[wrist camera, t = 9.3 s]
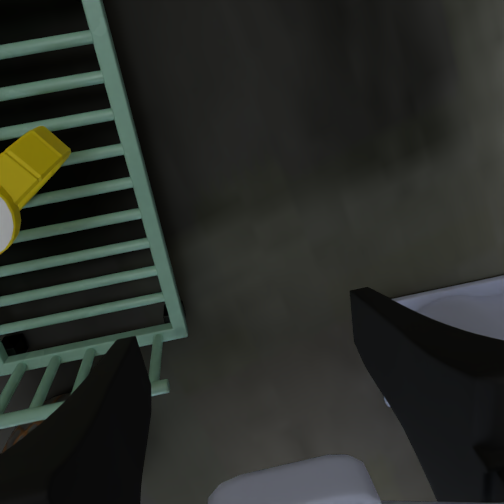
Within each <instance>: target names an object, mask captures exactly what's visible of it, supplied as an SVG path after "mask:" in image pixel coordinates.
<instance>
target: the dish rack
mask: <svg viewBox="0 0 504 504" xmlns="http://www.w3.org/2000/svg"><path fill="white" fill-rule="evenodd" d="M76 1H78V2H80V3H82V4H83V8H84V12H85V15H86V19H87V23H88V26H89V30H85V31H80V32H74V33H68V34H62V35H56V36H50V37H44V38H39V39H33V40H27V41H21V42H15V43H9V44H3V45H0V60H1V59H7V58H13V57H18V56H24V55H30V54H36V53H42V52H47V51H53V50H59V49H65V48H70V47H76V46H82V45H88V44H94V48H95V51H96V55H97V59H98V62H99V66H100V70H99V71H93V72H87V73H82V74H76V75H70V76H65V77H59V78H53V79H48V80H42V81H36V82H31V83H25V84H19V85H14V86H8V87H2V88H0V101H6V100H11V99H17V98H23V97H28V96H34V95H40V94H45V93H51V92H57V91H62V90H68V89H73V88H79V87H85V86H90V85H96V84H102V83H104V84H105V88H106V91H107V95H108V98H109V102H110V106H111V108H108V109H102V110H97V111H91V112H86V113H80V114H75V115H69V116H64V117H58V118H53V119H47V120H42V121H36V122H31V123H25V124H20V125H14V126H9V127H3V128H0V141H2V140H8V139H13V138H19V137H22V136H23V135H24V134H25V133H27V132H28V131H30V130H32V129H34V128H36V127H38V126H44V127H46V128H47V129H48V130H49V131H50V132H52V131H57V130H63V129H68V128H73V127H79V126H84V125H90V124H95V123H101V122H106V121H112V120H115V124H116V127H117V131H118V135H119V138H120V142H121V143H120V144H115V145H109V146H104V147H98V148H93V149H88V150H82V151H77V152H72V153H71V154H70V155H69V157H68V158H67V160H66V161H65V162H64V163H63V164H62V165H61V167H62V166H67V165H72V164H78V163H83V162H88V161H94V160H99V159H104V158H110V157H115V156H120V155H124V156H125V160H126V163H127V167H128V171H129V174H130V177H126V178H120V179H115V180H110V181H104V182H99V183H94V184H89V185H83V186H78V187H73V188H68V189H62V190H57V191H52V192H46V193H41V194H36V195H34V196H33V197H32V198H31V199H30V200H29V202H28V203H27V204H26V205H25V206H24V207H23V208H22V209H24V208H29V207H34V206H39V205H44V204H50V203H55V202H60V201H65V200H71V199H76V198H81V197H86V196H92V195H97V194H102V193H107V192H113V191H118V190H123V189H128V188H133V189H134V192H135V196H136V200H137V203H138V207H139V208H136V209H131V210H126V211H120V212H115V213H110V214H105V215H100V216H95V217H89V218H84V219H79V220H74V221H69V222H64V223H58V224H53V225H48V226H43V227H38V228H33V229H28V230H22V231H19V234H18V236H17V237H16V239H15V240H14V242H13V243H18V242H23V241H29V240H34V239H39V238H44V237H49V236H54V235H59V234H64V233H70V232H75V231H80V230H85V229H90V228H95V227H100V226H106V225H111V224H116V223H121V222H126V221H131V220H136V219H141V218H142V221H143V225H144V229H145V232H146V236H147V238H142V239H137V240H132V241H127V242H122V243H117V244H111V245H106V246H101V247H96V248H91V249H86V250H81V251H76V252H71V253H66V254H61V255H56V256H51V257H46V258H41V259H36V260H30V261H25V262H20V263H15V264H10V265H5V266H0V277H5V276H10V275H15V274H20V273H25V272H30V271H35V270H40V269H45V268H50V267H55V266H60V265H65V264H70V263H75V262H80V261H85V260H90V259H95V258H100V257H105V256H110V255H115V254H120V253H125V252H130V251H135V250H140V249H145V248H150V250H151V254H152V257H153V261H154V266H149V267H144V268H139V269H134V270H129V271H124V272H119V273H114V274H109V275H104V276H99V277H94V278H90V279H85V280H80V281H75V282H70V283H65V284H60V285H55V286H50V287H45V288H40V289H35V290H30V291H25V292H20V293H15V294H10V295H5V296H0V307H3V306H8V305H13V304H18V303H23V302H28V301H33V300H37V299H42V298H47V297H52V296H57V295H62V294H67V293H72V292H77V291H82V290H87V289H92V288H97V287H102V286H107V285H112V284H117V283H121V282H126V281H131V280H136V279H141V278H146V277H151V276H156V275H157V276H158V279H159V283H160V286H161V290H162V292H159V293H154V294H149V295H144V296H139V297H134V298H129V299H124V300H119V301H115V302H110V303H105V304H100V305H95V306H90V307H85V308H80V309H75V310H71V311H66V312H61V313H56V314H51V315H46V316H41V317H36V318H31V319H27V320H22V321H17V322H12V323H7V324H2V325H0V335H4V334H9V333H13V332H18V331H23V330H28V329H33V328H38V327H43V326H47V325H52V324H57V323H62V322H67V321H72V320H77V319H81V318H86V317H91V316H96V315H101V314H106V313H111V312H115V311H120V310H125V309H130V308H135V307H140V306H145V305H150V304H154V303H159V302H164V301H165V305H164V316H163V318H164V321H165V324H162V325H157V326H152V327H147V328H142V329H138V330H133V331H128V332H123V333H118V334H114V335H109V336H104V337H99V338H94V339H90V340H85V341H80V342H75V343H70V344H66V345H61V346H56V347H51V348H46V349H42V350H37V351H32V352H27V350H28V345H27V343H26V341H25V339H24V336H23V334H17V335H12V336H7V337H4V338H3V340H2V341H1V340H0V376H4V375H8V374H12V375H11V377H10V378H9V380H8V382H7V384H6V386H5V387H4V389H3V391H2V393H1V395H0V429H4V428H9V427H13V426H18V425H22V424H27V423H32V422H36V421H41V420H45V419H47V418H48V417H49V416H50V415H51V414H52V413H53V412H54V411H55V410H56V409H57V408H58V407H59V406H60V405H61V404H62V403H63V402H64V401H61V402H56V403H52V404H47V405H43V404H44V401H45V399H46V396H47V394H48V392H49V389H50V387H51V384H52V382H53V380H54V377H55V375H56V372H57V370H58V368H59V365H60V364H61V363H65V362H70V361H75V360H80V359H83V360H82V363H81V366H80V369H79V372H78V375H77V377H76V380H75V383H74V386H73V389H72V392H71V394H72V393H73V392H74V391H75V390H76V388H77V387H78V386H79V385H80V384H81V383H82V382H83V381H84V380H85V378H86V377H87V376H88V375H89V373H90V370H91V366H92V363H93V360H94V357H95V356H98V355H103V354H106V352H107V351H108V350H109V349H110V347H111V346H112V345H113V344H114V342H115V341H116V340H117V339H121V338H126V337H131V336H136V338H137V342H138V345H139V347H141V346H146V345H151V344H152V352H151V361H150V369H149V379H150V382H151V396H156V395H161V394H165V393H169V392H170V384H169V381H168V379H163V380H160V368H161V357H162V345H163V342H165V341H170V340H174V339H179V338H184V337H187V336H188V328H187V324H186V313H185V310H184V306H183V302H182V301H180V297H179V293H178V289H177V285H176V282H175V278H174V274H173V270H172V266H171V262H170V259H169V255H168V251H167V247H166V243H165V239H164V236H163V232H162V228H161V224H160V220H159V216H158V212H157V209H156V205H155V201H154V197H153V193H152V189H151V186H150V182H149V178H148V174H147V170H146V166H145V162H144V159H143V155H142V151H141V147H140V143H139V139H138V136H137V132H136V128H135V124H134V120H133V116H132V112H131V109H130V105H129V101H128V97H127V93H126V89H125V86H124V82H123V78H122V74H121V70H120V66H119V62H118V59H117V55H116V51H115V47H114V43H113V39H112V36H111V32H110V28H109V24H108V20H107V16H106V13H105V9H104V5H103V1H102V0H76ZM13 243H12V244H13ZM26 352H27V353H26ZM46 366H48V367H47V369H46V371H45V373H44V375H43V378H42V380H41V382H40V384H39V386H38V389H37V391H36V393H35V395H34V397H33V400H32V402H31V404H30V406H29V408H28V409H24V410H19V411H15V412H10V413H5V414H3V413H4V411H5V410H6V408H7V406H8V404H9V402H10V400H11V398H12V396H13V394H14V392H15V390H16V388H17V386H18V384H19V383H20V381H21V379H22V377H23V375H24V373H25V371H27V370H32V369H37V368H42V367H46Z"/></svg>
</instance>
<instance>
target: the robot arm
mask: <svg viewBox="0 0 504 504" xmlns="http://www.w3.org/2000/svg"><path fill="white" fill-rule="evenodd" d="M350 299H351V311H352V323H353V335H354V342H355V345H356V347H357V349H358V352H359V354H360V356H361V358H362V361H363V363H364V365H365V367H366V368H367V370H368V372H369V373H370V375H371V376H372V378H373V380H374V381H375V383H376V385H377V386H378V388H379V389H380V391H381V392H382V394H383V396H384V401H385V403H386V405H387V406H388V407H391V408H392V410H393V411H394V413H395V415H396V416H397V418H398V420H399V421H400V423H401V425H402V427H403V428H404V430H405V432H406V435H407V437H408V439H409V441H410V443H411V445H412V447H413V449H414V451H415V453H416V455H417V457H418V459H419V462H420V464H421V466H422V468H423V470H424V472H425V474H426V477H427V479H428V481H429V483H430V485H431V488H432V490H433V492H434V495H435V497H436V499H437V501H438V502H427V501H381V500H380V498H379V496H378V493H377V491H376V489H375V486H374V484H373V482H372V480H371V477H370V475H369V473H368V471H367V469H366V467H365V465H364V463H363V461H360V460H358V459H356V458H354V457H352V456H350V455H348V454H335V455H324V456H319V457H315V458H310V459H306V460H302V461H297V462H293V463H289V464H284V465H280V466H276V467H271V468H267V469H262V470H258V471H254V472H249V473H245V474H241V475H238V476H236V477H233V478H231V479H229V480H227V481H224V482H222V483H221V484H220V485H219V486H218V487H217V488H216V489H215V490H214V492H213V493H212V494H211V495H210V496H209V497H208V504H504V275H502V276H498V277H493V278H488V279H483V280H479V281H474V282H469V283H464V284H460V285H455V286H450V287H446V288H441V289H436V290H431V291H427V292H422V293H417V294H412V295H408V296H403V297H398V298H393V299H390V298H388V297H386V296H384V295H382V294H381V293H379V292H377V291H375V290H373V289H371V288H369V287H365V288H360V289H356V290H351V291H350ZM150 418H151V382H150V379H149V376H148V373H147V370H146V367H145V364H144V360H143V357H142V354H141V351H140V348H139V345H138V342H137V338H136V336H131V337H126V338H121V339H117V340H116V341H115V342H114V344H113V345H112V346H111V347H110V349H109V350H108V351H107V352H106V354H105V355H104V356H103V357H102V359H101V360H100V361H99V363H98V364H97V365H96V366H95V367H94V369H93V370H92V371H91V372H90V374H89V375H88V376H87V377H86V378H85V380H84V381H83V382H82V383H81V384H80V385H79V386H78V387H77V388H76V390H75V391H74V392H73V393H72V394H71V395H70V396H69V397H68V398H67V399H66V400H65V401H64V402H63V403H62V404H61V405H60V406H59V407H58V408H57V409H56V410H55V411H54V412H53V413H52V414H51V415H50V416H49V417H48V418H47V419H45V420H44V421H43V422H42V423H41V424H40V425H38V426H37V427H36V428H35V429H33V430H32V431H31V432H30V433H28V434H27V435H26V436H25V437H23V438H22V439H21V440H19V441H18V442H17V443H16V444H14V445H13V446H11V447H10V448H9V449H7V450H6V451H4V452H3V453H1V454H0V504H140V496H141V481H142V472H143V466H144V459H145V452H146V446H147V439H148V432H149V425H150Z"/></svg>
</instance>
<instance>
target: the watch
mask: <svg viewBox="0 0 504 504" xmlns="http://www.w3.org/2000/svg"><path fill="white" fill-rule="evenodd" d="M70 154H71V149H70V148H69V147H68V146H66V145H65V144H64V143H63V142H62V141H61V140H59V139H58V138H57V137H56V136H55V135H54V134H53V133H51V132H50V131H49V130H48V129H47V128H46V127H44V126H38V127H36V128H34V129H32V130H30V131H28V132H27V133H25V134H24V135H23V136H22V137H20V138H19V139H18V140H17V141H15V142H14V143H13V144H12V145H10V146H9V147H8V148H6V149H5V151H4V152H2V153H1V154H0V254H1V253H3V252H4V251H5V250H7V249H8V248H9V246H10V245H11V244H12V243H13V242H14V240H15V239H16V237H17V236H18V234H19V230H20V225H21V216H20V210H21V209H22V208H23V207H24V206H25V205H26V204H27V203H28V202H29V200H30V199H31V198H32V197H33V196H34V195H35V194H36V193H37V192H38V191H39V190H40V189H41V188H42V186H43V185H44V184H45V183H46V182H47V181H48V180H49V179H50V178H51V177H52V176H53V175H54V173H55V172H56V171H57V170H58V169H59V168H60V167H61V165H62V164H63V163H64V162H65V161H66V160H67V158H68V157H69V155H70Z"/></svg>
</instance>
